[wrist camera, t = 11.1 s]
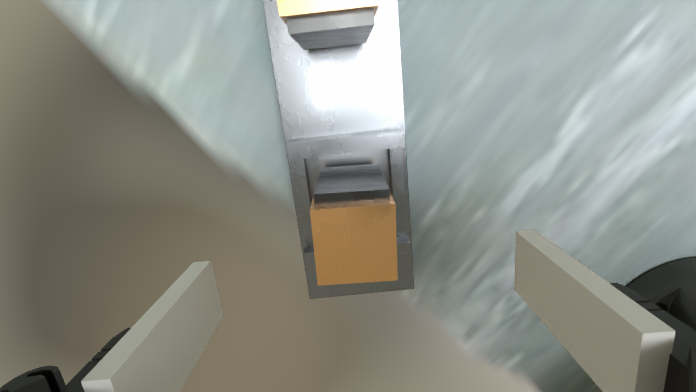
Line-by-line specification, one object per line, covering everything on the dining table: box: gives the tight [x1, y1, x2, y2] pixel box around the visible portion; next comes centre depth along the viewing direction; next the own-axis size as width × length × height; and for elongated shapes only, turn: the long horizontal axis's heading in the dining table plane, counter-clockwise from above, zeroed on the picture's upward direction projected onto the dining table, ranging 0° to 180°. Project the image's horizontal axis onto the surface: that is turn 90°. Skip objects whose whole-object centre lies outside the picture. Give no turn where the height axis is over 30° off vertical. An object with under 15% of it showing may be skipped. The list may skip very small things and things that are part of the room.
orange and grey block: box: [310, 164, 398, 286], centre depth 21 cm, size 5×4×8 cm
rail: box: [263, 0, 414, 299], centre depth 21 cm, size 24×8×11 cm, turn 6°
